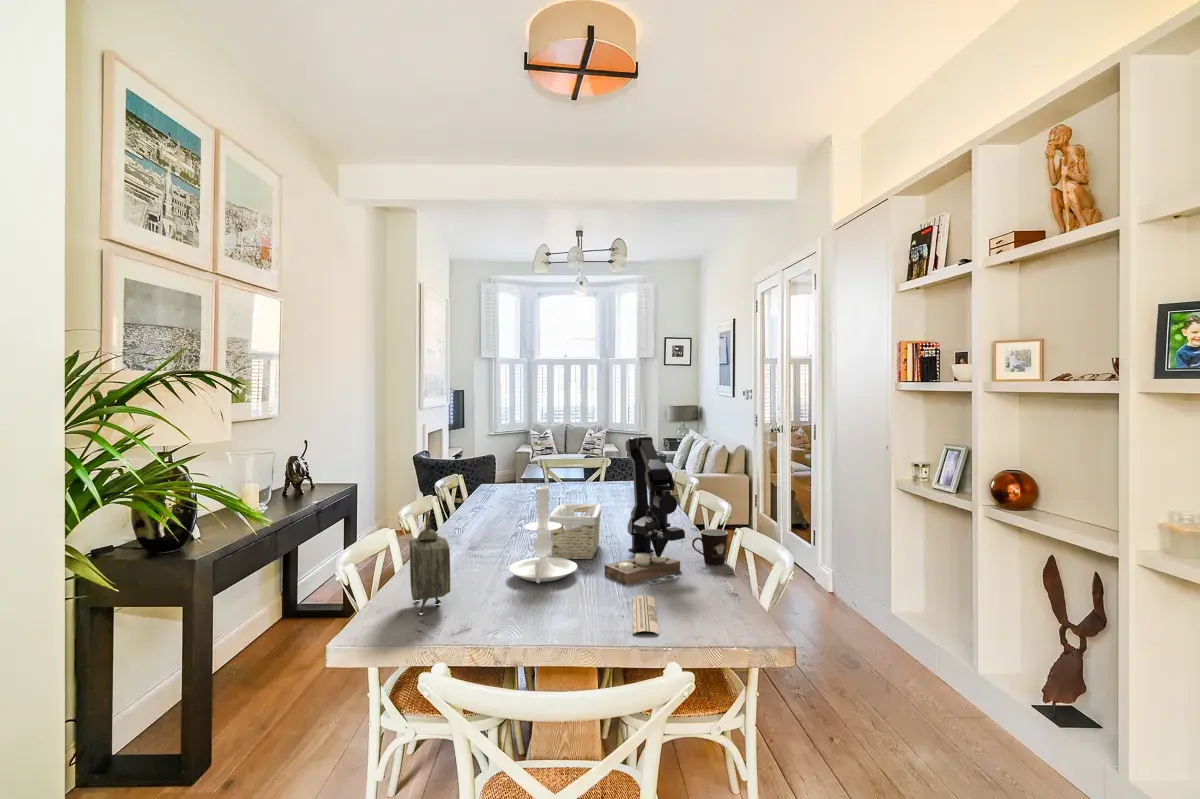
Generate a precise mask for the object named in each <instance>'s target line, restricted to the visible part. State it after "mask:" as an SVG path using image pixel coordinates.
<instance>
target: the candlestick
mask: <svg viewBox="0 0 1200 799" xmlns="http://www.w3.org/2000/svg"><path fill="white" fill-rule="evenodd" d="M535 490H536V505H535V507H536V514H537V521H536V522H529V523H527V524H525V525H524V526H523V528H524V529H525V530H528V531H532V532H535V533H537V535H536V538H535V540H534V542H533V549H534V552H535V553H536V554H537V555H538V556H539V557H531V558H526V559H522V560H518V561H515V562H513V563H512V564H511V565H509V567H508V572H510V573H511V574H512V575H515V576H517V577H519V578H520V579H523V580H526V581H530V582H536V584H540V583H541V582H551V581H557V580H559V579H563V578H565V577H566V576H568V575H569V574H571V573H574V572H575V571H576V570H577V569H578V564H577V563H576V562H574V561H572V560H571V559H563V558H555V557H552V556H548V555H549V554H550V553H551V552H552V550H551V549H552V545H553V544H552V541H551V536H550V535H549V534H550V531H551V530H555V529H558V528H560V527H561V526H562V525H561V524H559V523H555V522H549V519H548V517H549V514H550V513H549V502H550V496H549V494H550V491H549V490H550V488H549V485H543V486H542V485H540V487H536V489H535Z"/></svg>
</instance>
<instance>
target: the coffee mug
mask: <svg viewBox="0 0 1200 799" xmlns="http://www.w3.org/2000/svg"><path fill="white" fill-rule="evenodd" d="M700 536H701V537H695V538H694V539H693V540H692V541H691V542H692V544H691V545H692V546H691V547H692V548H693V549H694V550H695V552H696V553H697V552H698V553H699V554H700V555H701V556H702V555H703V562H704V564H705V563H706V564H705V565H707V564H709V565H708V566H711V565H715V567H718V566H717V565H720V566H723V565H722V564H724V565H725V562H726V554H727V552H726V551H727V545H728V544H727V543H728V536H729V532H728V531H727V530H725V529H724V530H723V529H719V528H718V529H717V528H710V529H709V528H707V529H703V530H701V531H700ZM698 540H700V541H701V545H702V551H703V552H702V551H700V550H698V549H697V547H696V546H695V542H696V541H698Z"/></svg>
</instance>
